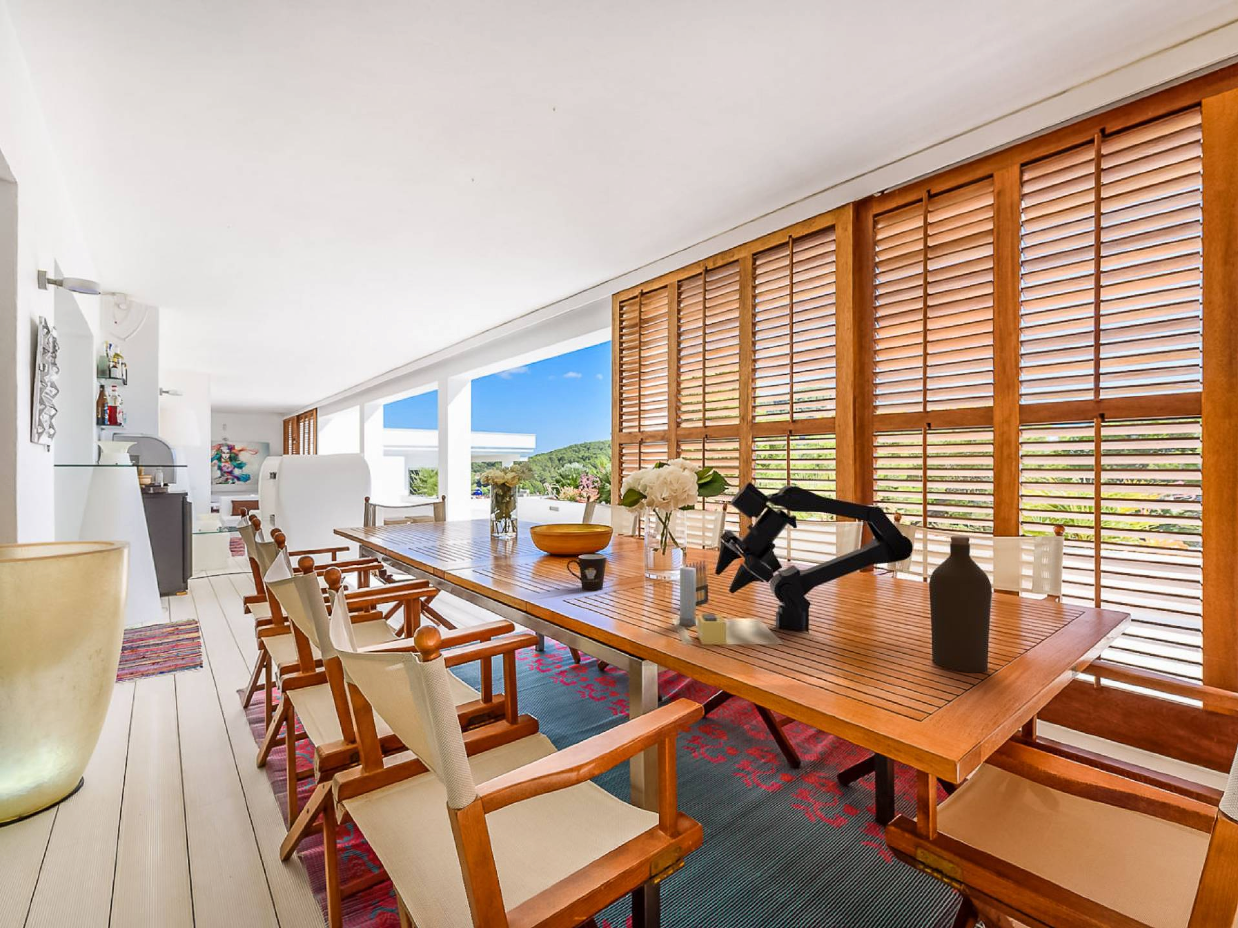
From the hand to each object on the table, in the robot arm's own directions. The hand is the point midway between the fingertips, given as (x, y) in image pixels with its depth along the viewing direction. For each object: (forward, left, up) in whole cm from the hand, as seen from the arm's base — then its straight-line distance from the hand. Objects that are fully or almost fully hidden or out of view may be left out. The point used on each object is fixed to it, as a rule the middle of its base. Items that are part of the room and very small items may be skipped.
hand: (723, 583), depth 138 cm
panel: (+1, +5, -11) cm, 12 cm away
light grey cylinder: (+8, 0, -10) cm, 13 cm away
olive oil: (-42, +24, -11) cm, 49 cm away
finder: (+5, +12, -10) cm, 16 cm away
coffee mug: (+32, -47, -11) cm, 58 cm away
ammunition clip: (+2, -25, -11) cm, 28 cm away
